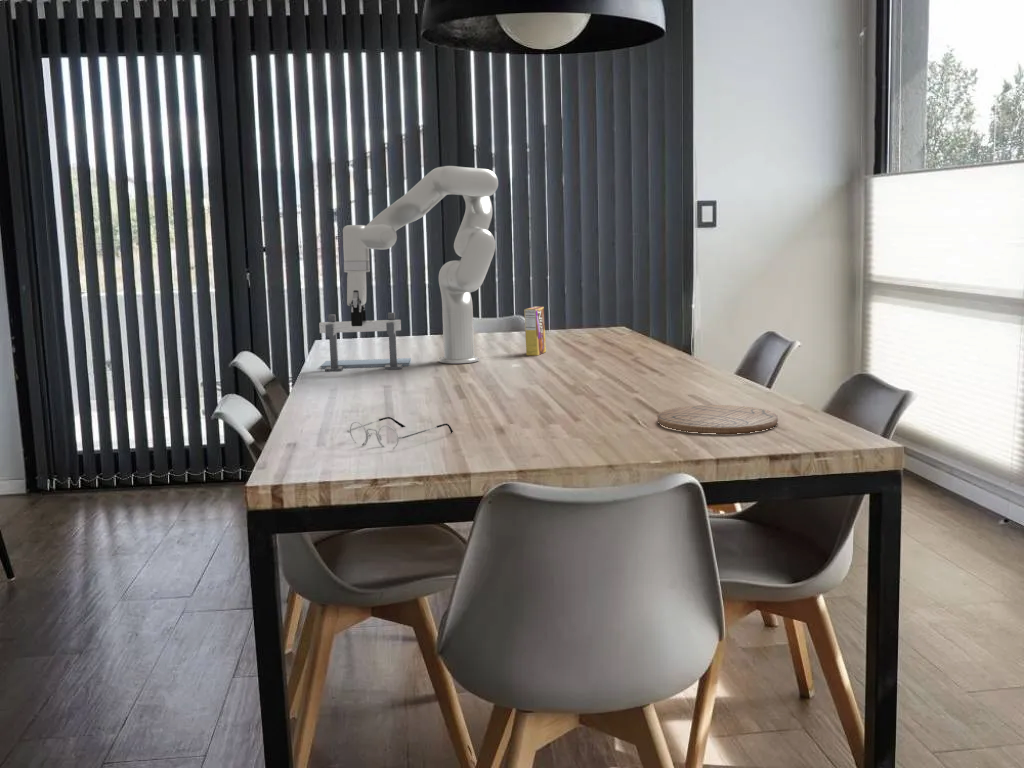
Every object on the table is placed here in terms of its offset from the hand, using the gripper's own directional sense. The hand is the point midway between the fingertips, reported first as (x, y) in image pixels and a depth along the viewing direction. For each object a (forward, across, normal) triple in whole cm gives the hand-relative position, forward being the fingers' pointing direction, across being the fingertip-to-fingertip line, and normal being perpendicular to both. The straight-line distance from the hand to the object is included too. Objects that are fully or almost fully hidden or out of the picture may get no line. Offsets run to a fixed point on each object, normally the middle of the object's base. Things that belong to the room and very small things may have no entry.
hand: (358, 324), depth 306 cm
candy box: (+13, -26, +55) cm, 62 cm away
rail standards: (+14, -3, +1) cm, 14 cm away
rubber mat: (+14, -13, +1) cm, 19 cm away
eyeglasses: (+15, +99, +19) cm, 102 cm away
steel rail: (+2, 0, 0) cm, 2 cm away
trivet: (+14, +95, +85) cm, 129 cm away
